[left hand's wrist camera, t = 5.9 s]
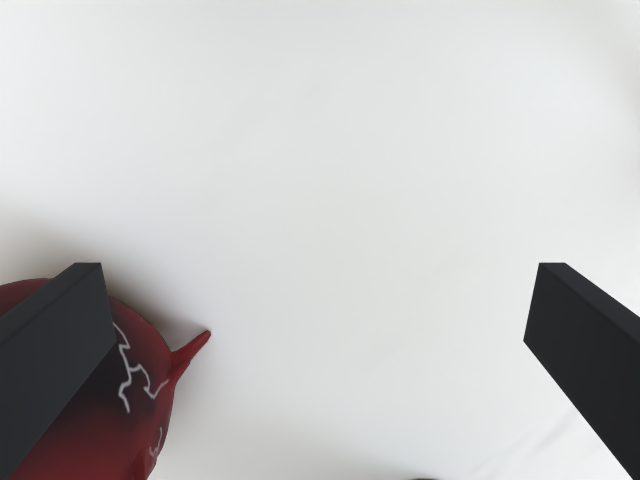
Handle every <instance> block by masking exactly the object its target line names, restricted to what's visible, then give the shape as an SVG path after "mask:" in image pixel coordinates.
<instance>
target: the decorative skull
mask: <svg viewBox="0 0 640 480" xmlns="http://www.w3.org/2000/svg"><path fill="white" fill-rule="evenodd" d="M51 280H52V279H50V278H40V279H29V280H22V281H17V282H13V283H8V284H5V285H1V286H0V317H1V316H3V315H4V314H6V313H7V312H8V311H10V310H11V309H12V308H14V307H15V306H16V305H18V304H19V303H21V302H22V301H23V300H25V299H26V298H27V297H29V296H30V295H32V294H33V293H34V292H36V291H37V290H38V289H40V288H41V287H43V286H44V285H45V284H47V283H48V282H49V281H51ZM107 296H108V295H107ZM108 301H109V305H110V310H111V315H112V320H113V325H114V330H115V335H116V340H117V341H116V342H115V344H114V345H113V346H112V348H111V349H110V350H109V351H108V353H107V354H106V355H105V356H104V358H103V359H102V360H101V361H100V363H99V364H98V365H97V367H96V368H95V369H94V370H93V372H92V373H91V374H90V375H89V377H88V378H87V379H86V380H85V382H84V383H83V384H82V385H81V387H80V388H79V389H78V391H77V392H76V393H75V394H74V396H73V397H72V398H71V399H70V401H69V402H68V403H67V404H66V406H65V407H64V408H63V409H62V411H61V412H60V413H59V415H58V416H57V417H56V418H55V420H54V421H53V422H52V423H51V425H50V426H49V427H48V428H47V430H46V431H45V432H44V434H43V435H42V436H41V437H40V439H39V440H38V441H37V442H36V444H35V445H34V446H33V447H32V449H31V450H30V451H29V452H28V454H27V455H26V456H25V458H24V459H23V460H22V461H21V463H20V464H19V465H18V466H17V468H16V469H15V470H14V471H13V473H12V474H11V475H10V476H9V478H8V479H7V480H147V478H148V476H149V475H150V473H151V472H152V470H153V469H154V467H155V465H156V460H157V457H158V455H159V453H160V452H161V450H162V448H163V445H164V442H165V438H166V435H167V431H168V426H169V420H170V416H171V411H172V405H173V397H174V390H175V386H176V383H177V381H178V380H179V378H180V377H181V376H182V374H183V373H184V371H185V370H186V368H187V367H188V366H189V364H190V361H191V360H192V358H193V357H194V356H195V355H196V353H197V352H198V351H199V350H200V349H201V348H202V347H203V346H204V344H205V343H206V342H207V341H208V339H209V337H210V336H211V333H210V332H209V331H205V332H204V333H202V334H200V335H199V336H197V337H196V338H194V339H193V340H192V341H191V342H189V343H188V344H187V345H185V346H184V347H182V348H180V349H179V350H177V351H175V352H171V351H170V349H169V347H168V346H167V344H166V342H165V341H164V339H163V338H162V336H161V335H160V334H159V332H158V331H157V330H156V329H155V328H154V327H153V326H152V325H150V324H149V323H148V322H147V321H146V320H144V319H143V318H142V317H141V316H140V315H138V314H137V313H136V312H135V311H133V310H132V309H130V308H129V307H127V306H126V305H124V304H123V303H121V302H119V301H117V300H116V299H114V298H112V297H110V296H108Z"/></svg>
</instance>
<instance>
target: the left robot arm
mask: <svg viewBox="0 0 640 480" xmlns="http://www.w3.org/2000/svg"><path fill="white" fill-rule="evenodd" d="M116 341H117V340H116V335H115V330H114V325H113V320H112V315H111V310H110V305H109V301H108V296H107V291H106V286H105V281H104V276H103V271H102V266H101V263H74V264H73V265H71V266H70V267H69V268H67V269H66V270H64V271H63V272H62V273H60V274H59V275H58V276H56V277H55V278H53V279H52V280H51V281H49V282H48V283H47V284H45V285H44V286H43V287H41V288H40V289H38V290H37V291H36V292H34V293H33V294H32V295H30V296H29V297H27V298H26V299H25V300H23V301H22V302H21V303H19V304H18V305H16V306H15V307H14V308H12V309H11V310H10V311H8V312H7V313H6V314H4V315H3V316H1V317H0V480H7V479H8V478H9V476H10V475H11V474H12V473H13V471H14V470H15V469H16V468H17V466H18V465H19V464H20V463H21V461H22V460H23V459H24V458H25V456H26V455H27V454H28V452H29V451H30V450H31V449H32V447H33V446H34V445H35V444H36V442H37V441H38V440H39V439H40V437H41V436H42V435H43V434H44V432H45V431H46V430H47V428H48V427H49V426H50V425H51V423H52V422H53V421H54V420H55V418H56V417H57V416H58V415H59V413H60V412H61V411H62V409H63V408H64V407H65V406H66V404H67V403H68V402H69V401H70V399H71V398H72V397H73V396H74V394H75V393H76V392H77V391H78V389H79V388H80V387H81V385H82V384H83V383H84V382H85V380H86V379H87V378H88V377H89V375H90V374H91V373H92V372H93V370H94V369H95V368H96V367H97V365H98V364H99V363H100V361H101V360H102V359H103V358H104V356H105V355H106V354H107V353H108V351H109V350H110V349H111V348H112V346H113V345H114V344H115V342H116ZM523 341H524V342H525V344H526V345H527V346H528V348H529V349H530V350H531V351H532V353H533V354H534V355H535V356H536V358H537V359H538V360H539V361H540V363H541V364H542V365H543V367H544V368H545V369H546V370H547V372H548V373H549V374H550V375H551V377H552V378H553V379H554V380H555V382H556V383H557V384H558V385H559V387H560V388H561V389H562V391H563V392H564V393H565V394H566V396H567V397H568V398H569V399H570V401H571V402H572V403H573V404H574V406H575V407H576V408H577V409H578V411H579V412H580V413H581V415H582V416H583V417H584V418H585V420H586V421H587V422H588V423H589V425H590V426H591V427H592V428H593V430H594V431H595V432H596V434H597V435H598V436H599V437H600V439H601V440H602V441H603V442H604V444H605V445H606V446H607V447H608V449H609V450H610V451H611V452H612V454H613V455H614V456H615V458H616V459H617V460H618V461H619V463H620V464H621V465H622V466H623V468H624V469H625V470H626V471H627V473H628V474H629V475H630V476H631V478H632V479H633V480H640V317H639V316H637V315H636V314H634V313H633V312H632V311H630V310H629V309H628V308H626V307H625V306H624V305H622V304H621V303H619V302H618V301H617V300H615V299H614V298H613V297H611V296H610V295H608V294H607V293H606V292H604V291H603V290H602V289H600V288H599V287H597V286H596V285H595V284H593V283H592V282H591V281H589V280H588V279H587V278H585V277H584V276H582V275H581V274H580V273H578V272H577V271H576V270H574V269H573V268H571V267H570V266H569V265H567V264H566V263H539V266H538V271H537V276H536V281H535V286H534V291H533V296H532V301H531V305H530V310H529V315H528V320H527V325H526V330H525V335H524V340H523Z"/></svg>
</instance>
